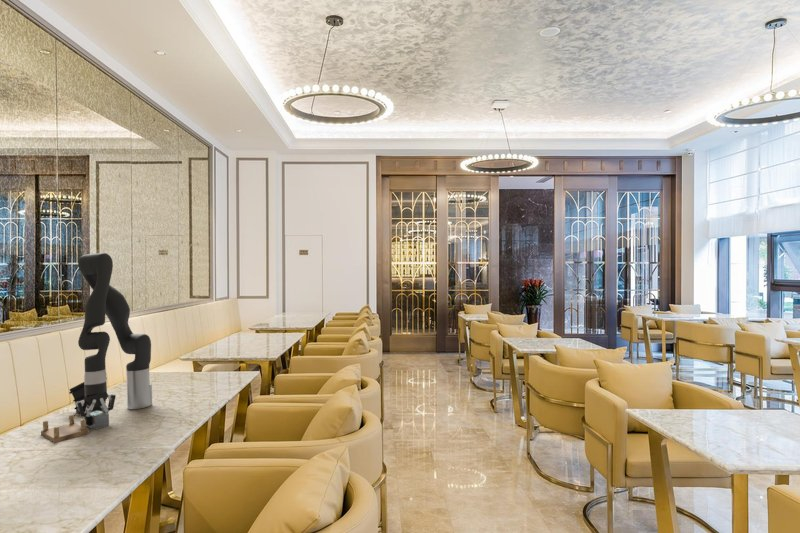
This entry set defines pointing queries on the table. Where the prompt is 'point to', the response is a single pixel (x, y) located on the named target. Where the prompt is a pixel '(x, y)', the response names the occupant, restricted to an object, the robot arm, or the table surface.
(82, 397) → the black ribbed wedge
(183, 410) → the table surface
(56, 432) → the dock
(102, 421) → the grey rectangular block
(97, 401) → the robot arm
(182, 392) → the table surface
